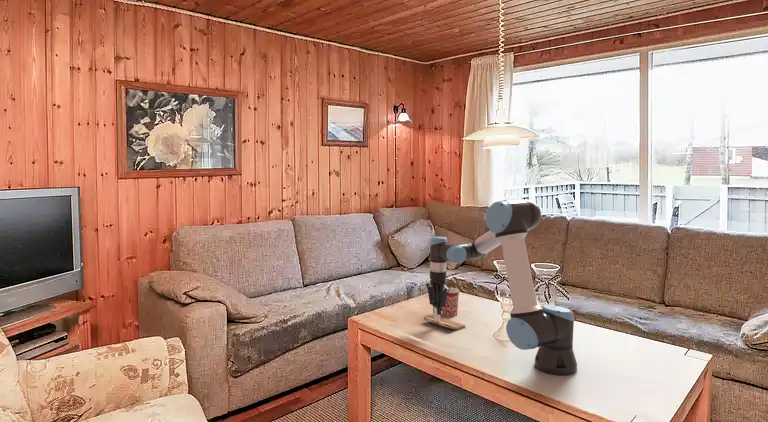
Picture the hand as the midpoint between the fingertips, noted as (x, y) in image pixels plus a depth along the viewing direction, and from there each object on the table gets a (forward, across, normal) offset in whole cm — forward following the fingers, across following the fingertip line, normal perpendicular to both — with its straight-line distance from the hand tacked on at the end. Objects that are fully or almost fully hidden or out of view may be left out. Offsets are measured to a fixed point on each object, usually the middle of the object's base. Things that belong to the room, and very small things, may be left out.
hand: (437, 320), depth 230 cm
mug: (+4, +11, -18) cm, 22 cm away
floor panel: (+4, 0, -4) cm, 6 cm away
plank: (+2, 0, -3) cm, 3 cm away
